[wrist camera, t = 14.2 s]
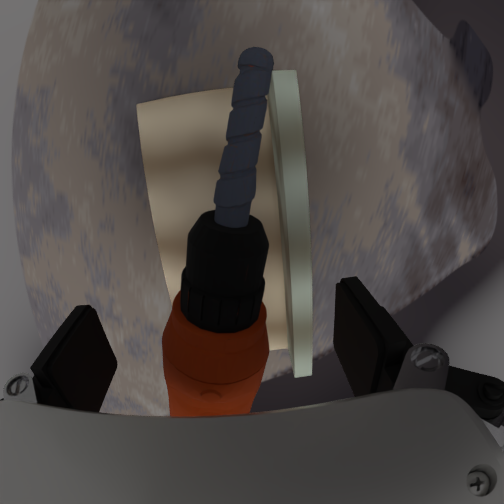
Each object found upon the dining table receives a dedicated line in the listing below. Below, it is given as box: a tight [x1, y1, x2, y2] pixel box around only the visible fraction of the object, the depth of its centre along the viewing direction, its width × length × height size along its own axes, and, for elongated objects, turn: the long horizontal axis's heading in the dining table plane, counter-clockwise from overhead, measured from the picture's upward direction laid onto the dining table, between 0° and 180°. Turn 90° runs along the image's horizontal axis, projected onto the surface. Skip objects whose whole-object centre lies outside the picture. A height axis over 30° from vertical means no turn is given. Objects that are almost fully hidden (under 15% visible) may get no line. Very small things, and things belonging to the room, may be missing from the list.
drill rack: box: [136, 70, 312, 378], centre depth 21 cm, size 22×11×6 cm, turn 6°
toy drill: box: [162, 47, 274, 416], centre depth 15 cm, size 5×19×15 cm, turn 171°
